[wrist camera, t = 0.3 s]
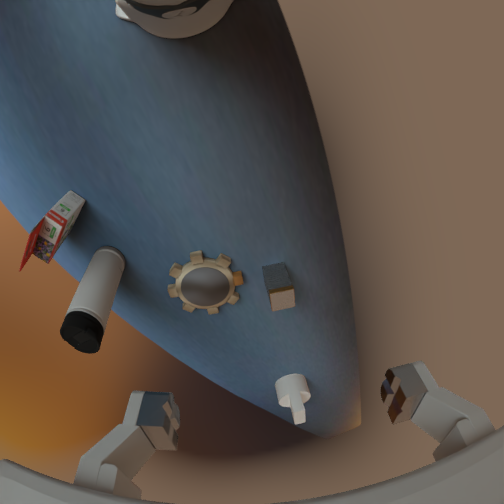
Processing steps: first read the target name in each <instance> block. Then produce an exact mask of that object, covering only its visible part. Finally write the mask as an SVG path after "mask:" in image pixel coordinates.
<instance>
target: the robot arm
mask: <svg viewBox="0 0 504 504" xmlns="http://www.w3.org/2000/svg"><path fill="white" fill-rule="evenodd" d="M115 1H116V15H117V16H118V17H119V18H120V19H123V20H127V21H132V22H135V23H137V24H138V25H139V26H140V27H142V28H143V29H144V30H146V31H147V32H149V33H151V34H153V35H156V36H159V37H163V38H185V37H190V36H193V35H196V34H199V33H201V32H204V31H206V30H207V29H209V28H211V27H212V26H213V25H215V24H216V23H217V22H218V21H219V20H220V19H221V18H222V17H223V16H224V15H225V13H226V12H227V10H228V8H229V6H230V5H231V3H232V2H233V1H234V0H115ZM385 376H386V380H384V381H383V382H382V385H381V398H382V401H383V403H384V404H385V405H387V406H388V407H389V409H388V415H389V417H390V419H391V422H392V424H397V423H400V422H404V421H407V420H410V419H411V421H412V422H413V423H415V424H416V425H417V426H419V427H420V428H421V429H422V430H424V431H425V432H426V433H428V434H429V435H430V436H431V437H433V438H434V439H436V440H437V441H438V442H439V443H441V444H440V445H439V446H438V447H437V448H436V450H435V451H434V453H433V456H434V458H435V461H436V462H434V463H432V464H429V465H427V466H424V467H422V468H419V469H417V470H414V471H412V472H409V473H406V474H403V475H401V476H398V477H395V478H392V479H389V480H386V481H383V482H379V483H376V484H373V485H369V486H365V487H362V488H358V489H354V490H350V491H346V492H341V493H337V494H333V495H328V496H322V497H317V498H311V499H305V500H298V501H290V502H283V503H272V504H504V426H502V427H501V428H499V429H497V430H495V428H494V427H493V425H492V423H491V421H490V420H489V418H488V416H487V415H486V413H485V411H484V410H483V409H482V408H480V407H478V406H476V405H475V404H473V403H471V402H469V401H467V400H465V399H463V398H461V397H459V396H458V395H456V394H454V393H452V392H450V391H449V390H447V389H445V388H443V387H441V388H439V386H438V385H437V383H436V381H435V380H434V378H433V377H432V375H431V373H430V372H429V370H428V369H427V367H426V366H425V364H424V362H422V361H417V362H413V363H410V364H405V365H401V366H397V367H393V368H390V369H388V370H387V371H386V374H385ZM179 426H180V412H179V408H178V406H177V404H175V403H174V396H173V394H172V393H165V392H148V391H133V392H132V394H131V396H130V399H129V403H128V406H127V410H126V413H125V417H124V421H123V424H119V425H117V426H116V427H115V428H114V429H113V430H112V431H111V432H109V433H108V434H107V435H106V436H105V437H104V438H103V439H101V440H100V441H99V442H98V443H97V444H96V445H95V446H93V447H92V448H91V449H90V450H89V451H88V452H87V453H85V454H84V455H83V456H82V457H81V459H80V462H79V466H78V469H77V473H76V476H75V480H74V483H73V484H70V483H68V482H65V481H61V480H58V479H55V478H53V477H50V476H47V475H44V474H42V473H39V472H36V471H34V470H31V469H29V468H26V467H24V466H22V465H20V464H17V463H15V462H13V461H10V460H8V459H3V460H0V504H173V503H163V502H155V501H147V500H141V490H140V488H139V487H138V486H136V485H135V484H134V483H133V482H132V481H131V480H132V479H133V477H134V476H135V475H136V474H137V473H138V471H139V470H140V469H141V468H142V467H143V465H144V464H145V463H146V462H147V461H148V459H149V458H150V457H151V456H152V454H153V453H154V452H155V451H156V450H155V449H158V450H159V449H160V450H176V449H177V443H178V435H177V433H176V430H177V429H178V428H179Z"/></svg>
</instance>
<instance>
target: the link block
mask: <svg viewBox="0 0 504 504" xmlns="http://www.w3.org/2000/svg"><path fill="white" fill-rule="evenodd" d="M262 269H263V275H264V282H265V286H266V289H267V293H268V297H269V300H270V304H271V309H272V311H277V310H282V309H286V308H291V307H295V296H294V288H293V285H292V283H291V281H290V278H289V276H288V273H287V271H286V268H285V265H284V263H283V262H281V263H276V264H271V265H266V266H262Z"/></svg>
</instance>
